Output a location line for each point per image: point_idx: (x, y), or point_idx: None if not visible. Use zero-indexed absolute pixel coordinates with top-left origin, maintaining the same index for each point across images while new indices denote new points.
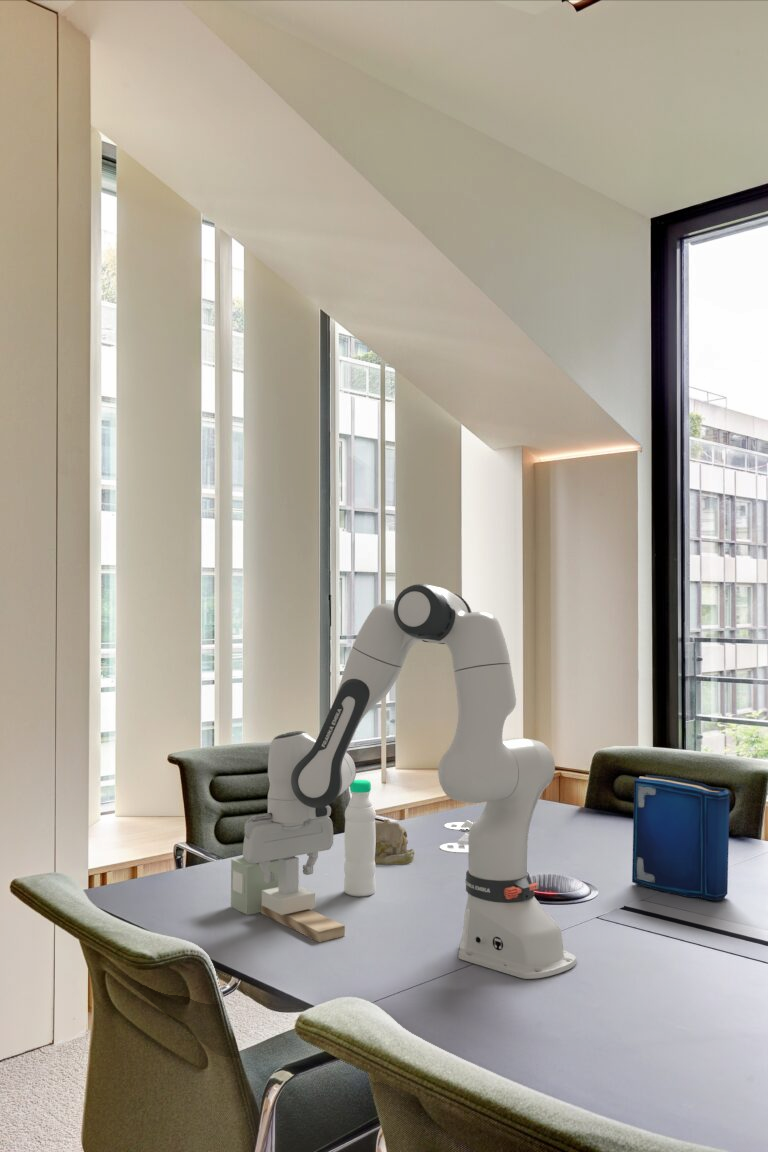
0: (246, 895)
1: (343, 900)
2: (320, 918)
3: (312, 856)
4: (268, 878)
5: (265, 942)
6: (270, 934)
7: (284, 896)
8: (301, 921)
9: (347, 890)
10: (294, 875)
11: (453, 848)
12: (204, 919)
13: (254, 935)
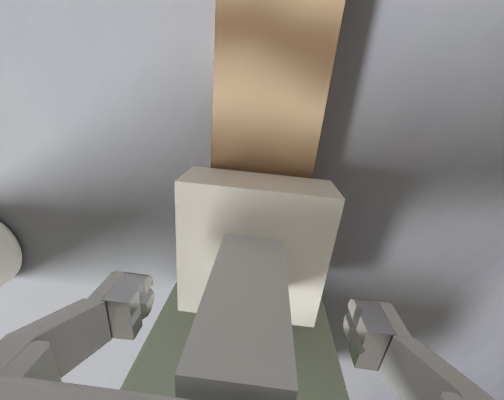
0: (333, 345)
1: (52, 225)
2: (242, 60)
3: (45, 351)
4: (399, 317)
5: (468, 84)
6: (396, 138)
7: (304, 227)
8: (318, 85)
9: (12, 254)
10: (233, 284)
11: None
12: (414, 336)
13: (434, 164)
